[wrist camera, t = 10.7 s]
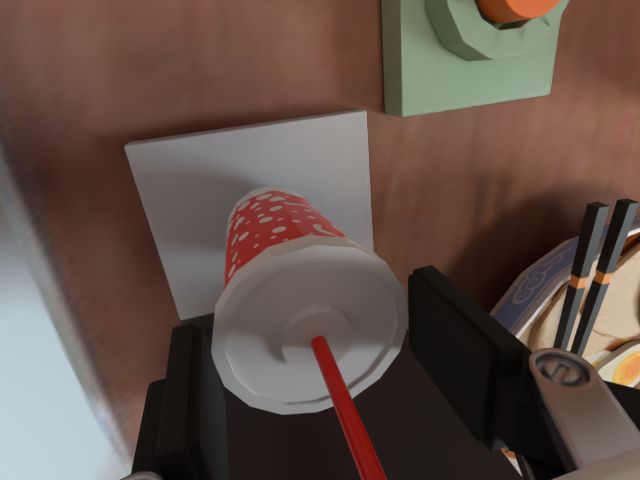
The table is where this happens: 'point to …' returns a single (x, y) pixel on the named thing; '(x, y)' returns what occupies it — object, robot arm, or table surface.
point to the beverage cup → (305, 315)
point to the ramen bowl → (584, 297)
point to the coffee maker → (208, 281)
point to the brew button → (515, 9)
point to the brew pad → (462, 56)
